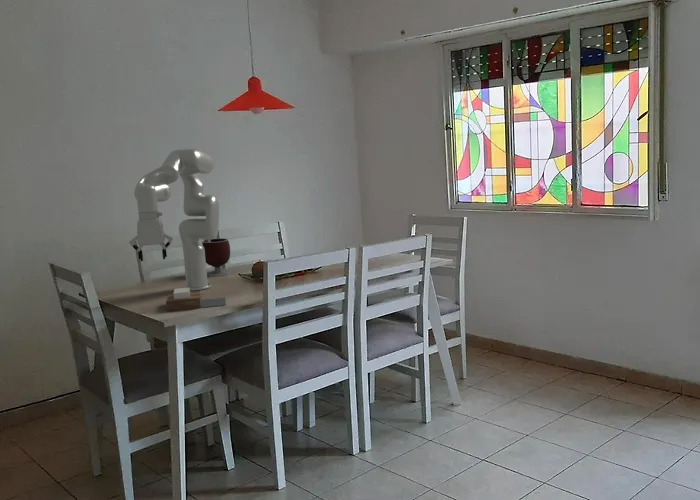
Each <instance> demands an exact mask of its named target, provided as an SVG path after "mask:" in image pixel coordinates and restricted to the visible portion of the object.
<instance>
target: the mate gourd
mask: <svg viewBox="0 0 700 500" xmlns="http://www.w3.org/2000/svg"><path fill="white" fill-rule="evenodd" d="M201 241H202V242H201V244H202V245H203V247H204V249H205V259H206V265H208V266H211V267H214V269H213V270H212V271H207V277H221V276H226V275H227V276H228V275H230V274H231V270H226V269H225V270H223V269H222V266H224V265H225V264H227V263H228V262H229V260H230V258H231V246H230V245H231V244H230V241H229V239H228V238H220V237H219V238H215V239H212V240H201Z"/></svg>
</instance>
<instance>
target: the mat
mask: <svg viewBox="0 0 700 500" xmlns="http://www.w3.org/2000/svg"><path fill="white" fill-rule="evenodd" d="M224 305H226V306H227V303H226V297H217V298H215V297H214V298H207V299H204V298H203V299H201V308H200V309H204V308H205V309H206V308H214V307H224Z"/></svg>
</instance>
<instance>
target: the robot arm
mask: <svg viewBox="0 0 700 500" xmlns="http://www.w3.org/2000/svg"><path fill="white" fill-rule="evenodd" d="M213 169H214V160H213V158H212V157H211V155H209V154H207V153H205V152H203V151H202V150H199V149H196V148H188V149H187V148H186V149H185V148H183V149H175V150H172V151H171V152H170V153H169V154H168V156H167V157H166V159H165V160H164V161H163V162H162V164H161V165H160V166H159V167H157V168H155V169H154V170H151V171H150V172H148V173H146V174H145V175H143V176H142V177H141V178H140V180H139V181H138V182H137V184H136V186H135V188H134V191H133V194H134V198H135V199H136V204H137V214H138V220H137V224H136V235H135V237H133V238H132V239H130V240H128V241H129V242H128V243H129V245H130V246H131V247H132V248H133V249H134V250H136V251H137V253H138V260H140V262H143V261H144V254H143V250H142V248H143V246H154V245H155V246H156V245H160V246H161V248H162V250H161V252H162V260H165V259H166V258H167V257H168V255H167V249H168V247H169V246H170V245H171V244H172V241H173V240H174V238H173V237H172V236H171V235H168V234H167V233H165V231H164V227H163V222H162V218H160V217H162V216H163V212H160V211H159V209H158V206H159V205H158V203H163V202H166V201H168V200H169V199H170V197H171V195H172V190H171V187H170V186H169V185H170V184H173V183H175V182H177V181H178V179H179V178H181V181H182V183H183V189H184V192H183V212H184V215H186V216H187V217H206V218H187V219H183V220H182V221H181V222H180V223H179V225H178V233H179V237H180V241H181V245H182V251H183V262H184V265H183V266H184V272H185V283H186V284H185V285H183V286H182V288H189V287H190V292H195V291H201V290H202V291H203V290H207V289H210V288H212V283H210V282H208V281H209V280H208V276H207V273H208V271H207V263H206V259H205V249H204V247H203V245H202V242H201V241H204V240H212V239H217V236H218V233H219V226H220V225H219V221H220V220H219V219H220V202H219V200H218V197H216V196H215V195H213V194H204V183H203V182H202V180H201V178H199V176H198V175H207V174H210V173H211V172H212V171H213ZM165 238H166V239H167V240H168V241H167V242H166V243H165V240H166V239H165ZM136 241H137V243H138V244H135V242H136Z"/></svg>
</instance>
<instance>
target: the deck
mask: <svg viewBox="0 0 700 500" xmlns="http://www.w3.org/2000/svg"><path fill="white" fill-rule="evenodd" d="M201 300H202V295H201V290H196V291H190V298H184V299H174V293H168V294H167V296H166V301H165V305H166V312H174V311H184V310H185V311H186V310H195V309H202V308H201Z"/></svg>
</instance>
